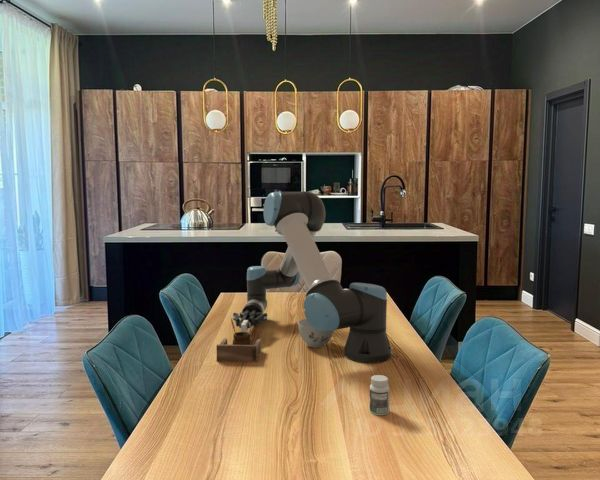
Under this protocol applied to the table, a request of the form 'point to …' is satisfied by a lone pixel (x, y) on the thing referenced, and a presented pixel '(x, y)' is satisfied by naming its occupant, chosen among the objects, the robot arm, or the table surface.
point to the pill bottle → (379, 395)
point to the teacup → (313, 335)
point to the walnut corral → (238, 352)
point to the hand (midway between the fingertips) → (242, 328)
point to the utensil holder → (241, 337)
